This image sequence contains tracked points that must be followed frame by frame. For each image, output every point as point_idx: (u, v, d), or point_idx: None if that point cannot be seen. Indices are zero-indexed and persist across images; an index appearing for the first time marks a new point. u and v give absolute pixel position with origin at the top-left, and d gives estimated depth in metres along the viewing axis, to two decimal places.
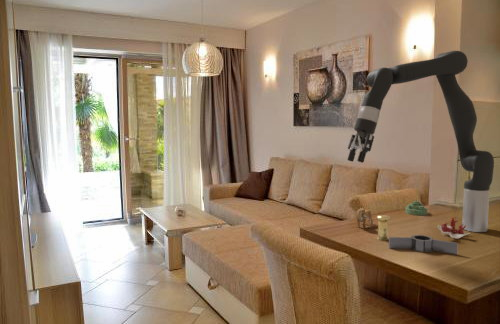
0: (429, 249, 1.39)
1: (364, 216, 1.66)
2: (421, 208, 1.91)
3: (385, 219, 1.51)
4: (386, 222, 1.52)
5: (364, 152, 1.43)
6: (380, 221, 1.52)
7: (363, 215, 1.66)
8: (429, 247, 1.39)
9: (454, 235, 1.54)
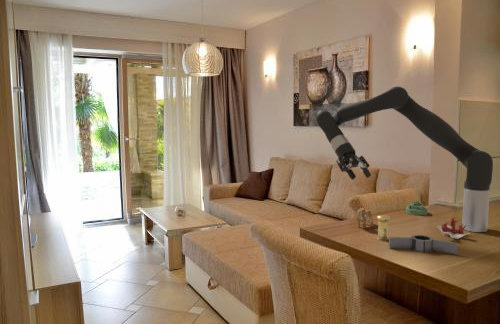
0: (429, 249, 1.39)
1: (364, 216, 1.66)
2: (421, 208, 1.91)
3: (385, 219, 1.51)
4: (386, 222, 1.52)
5: (347, 171, 1.60)
6: (380, 221, 1.52)
7: (363, 215, 1.66)
8: (429, 247, 1.39)
9: (454, 235, 1.54)
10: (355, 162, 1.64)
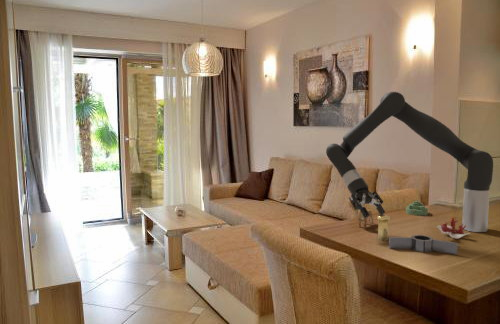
0: (429, 249, 1.39)
1: None
2: (422, 208, 1.91)
3: (385, 219, 1.51)
4: (386, 222, 1.52)
5: (360, 209, 1.56)
6: (380, 221, 1.52)
7: None
8: (429, 247, 1.39)
9: (454, 235, 1.54)
10: (368, 199, 1.60)
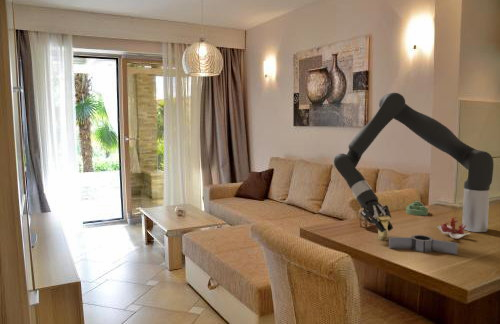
0: (429, 249, 1.39)
1: None
2: (422, 208, 1.91)
3: (385, 219, 1.51)
4: (386, 222, 1.52)
5: (376, 223, 1.52)
6: None
7: None
8: (429, 247, 1.39)
9: (454, 235, 1.54)
10: (376, 210, 1.56)
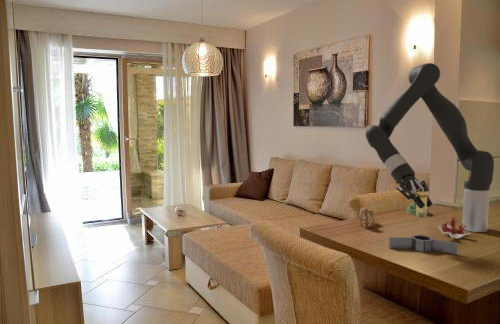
0: (429, 249, 1.39)
1: (367, 215, 1.68)
2: None
3: (424, 194, 1.38)
4: (425, 197, 1.39)
5: (414, 199, 1.40)
6: (419, 196, 1.40)
7: (366, 214, 1.68)
8: (429, 247, 1.39)
9: (454, 235, 1.54)
10: (414, 185, 1.43)
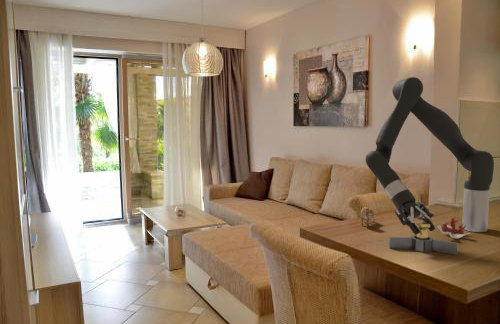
0: (429, 249, 1.39)
1: (368, 215, 1.68)
2: None
3: (426, 226, 1.40)
4: (426, 230, 1.40)
5: (409, 224, 1.40)
6: (420, 228, 1.41)
7: (367, 214, 1.68)
8: (429, 247, 1.39)
9: (454, 235, 1.54)
10: (416, 213, 1.44)
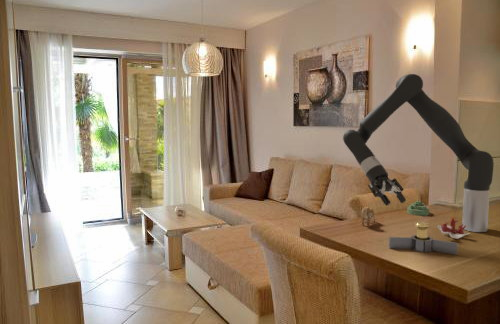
0: (429, 249, 1.39)
1: (369, 214, 1.69)
2: (423, 208, 1.91)
3: (425, 226, 1.40)
4: (426, 230, 1.40)
5: (381, 196, 1.50)
6: (419, 229, 1.41)
7: (368, 213, 1.69)
8: (429, 247, 1.39)
9: (454, 235, 1.54)
10: (388, 186, 1.54)
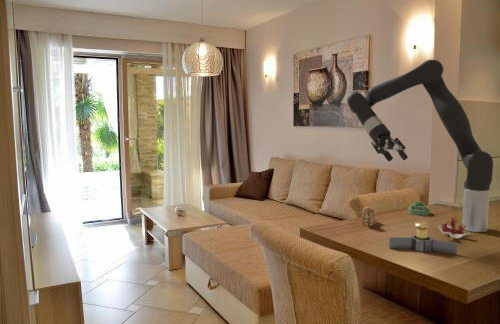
0: (429, 249, 1.39)
1: (370, 214, 1.69)
2: (423, 208, 1.91)
3: (424, 227, 1.39)
4: (425, 230, 1.40)
5: (383, 153, 1.54)
6: (418, 229, 1.41)
7: (369, 213, 1.69)
8: (429, 247, 1.39)
9: (454, 235, 1.54)
10: (391, 144, 1.58)
